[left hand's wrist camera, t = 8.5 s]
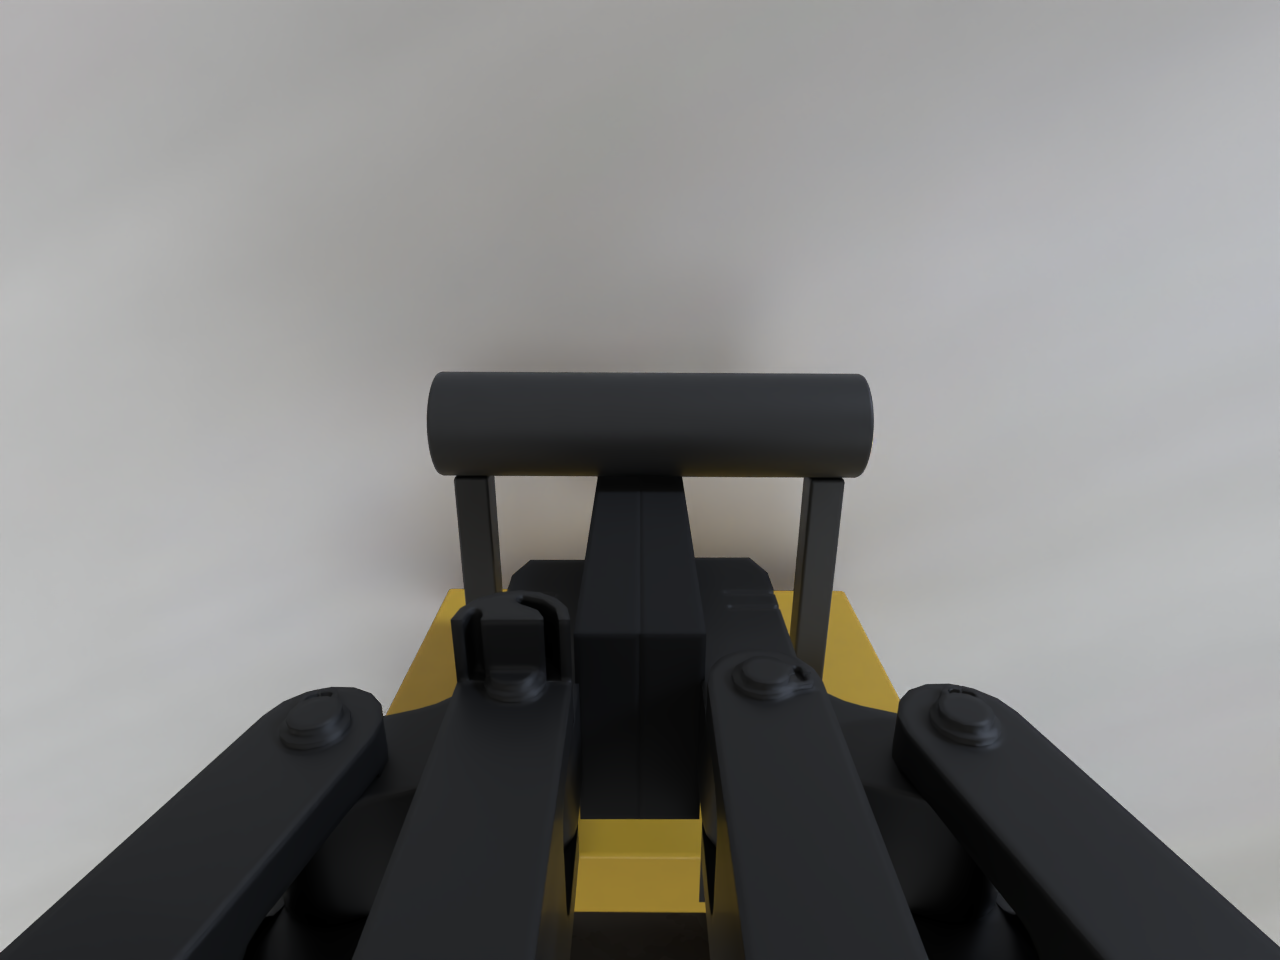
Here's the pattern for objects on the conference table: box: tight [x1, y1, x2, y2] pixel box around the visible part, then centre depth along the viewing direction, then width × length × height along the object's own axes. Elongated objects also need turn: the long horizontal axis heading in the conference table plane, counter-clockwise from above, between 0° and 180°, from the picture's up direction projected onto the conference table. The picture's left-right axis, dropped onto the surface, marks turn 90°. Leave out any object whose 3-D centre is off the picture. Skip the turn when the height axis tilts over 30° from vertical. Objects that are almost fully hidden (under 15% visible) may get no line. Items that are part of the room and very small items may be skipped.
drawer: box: [386, 372, 900, 960], centre depth 16 cm, size 20×10×8 cm, turn 0°
